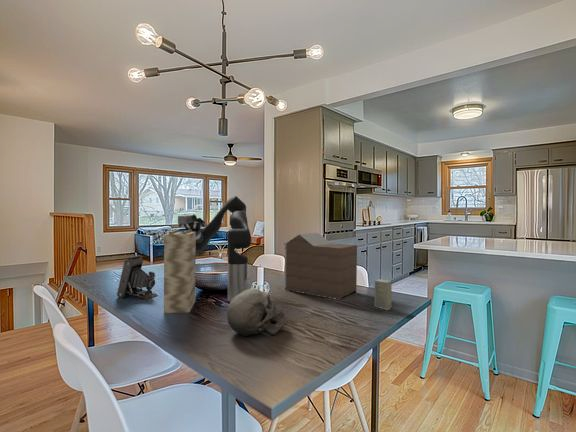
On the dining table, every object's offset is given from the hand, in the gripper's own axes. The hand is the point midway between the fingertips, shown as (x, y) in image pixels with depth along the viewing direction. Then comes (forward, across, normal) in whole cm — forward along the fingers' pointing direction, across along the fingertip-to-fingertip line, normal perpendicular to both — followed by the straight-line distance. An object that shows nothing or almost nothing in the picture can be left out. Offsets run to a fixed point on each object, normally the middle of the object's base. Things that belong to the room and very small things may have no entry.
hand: (189, 215), depth 158 cm
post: (0, 0, +45) cm, 45 cm away
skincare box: (+9, +87, +51) cm, 101 cm away
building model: (-19, +66, +34) cm, 77 cm away
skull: (+28, +32, +61) cm, 74 cm away
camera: (-17, -23, +35) cm, 45 cm away
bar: (+4, 0, +6) cm, 7 cm away
